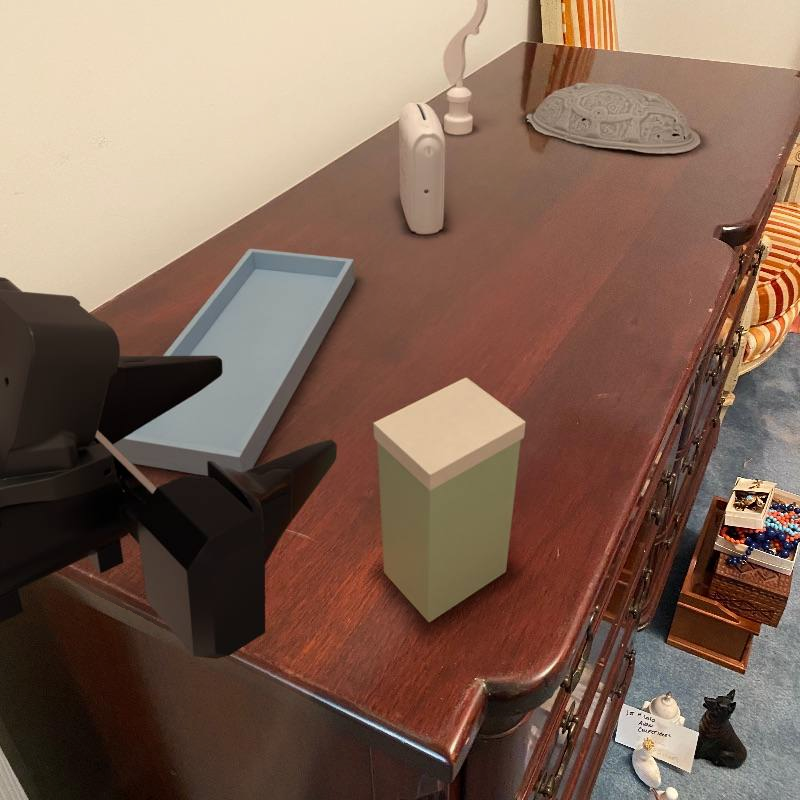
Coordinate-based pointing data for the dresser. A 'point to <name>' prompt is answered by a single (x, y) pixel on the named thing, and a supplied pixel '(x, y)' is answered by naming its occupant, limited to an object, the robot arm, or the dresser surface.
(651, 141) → the grey textured dome
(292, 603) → the dresser surface
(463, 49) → the decorative finial
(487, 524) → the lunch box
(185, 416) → the dish tray
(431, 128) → the photo printer
